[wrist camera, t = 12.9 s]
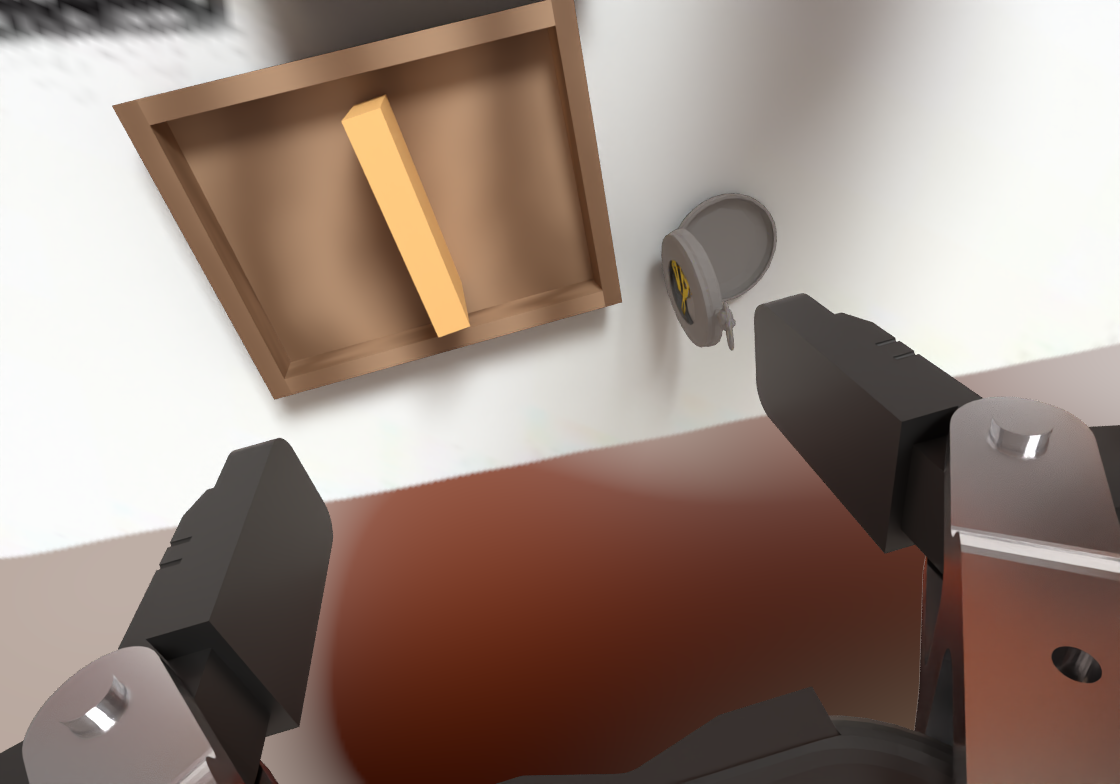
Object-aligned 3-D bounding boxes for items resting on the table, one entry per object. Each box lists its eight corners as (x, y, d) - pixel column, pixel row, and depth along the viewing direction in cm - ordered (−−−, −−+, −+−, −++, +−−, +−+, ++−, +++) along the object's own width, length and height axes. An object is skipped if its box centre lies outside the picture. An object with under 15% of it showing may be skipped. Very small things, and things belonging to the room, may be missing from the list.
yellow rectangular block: (380, 107, 24) (470, 326, 29) (385, 94, 29) (461, 282, 34) (341, 121, 24) (438, 337, 29) (353, 105, 29) (434, 292, 34)
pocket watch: (788, 237, 38) (894, 296, 30) (693, 336, 40) (767, 416, 32) (707, 148, 34) (803, 187, 26) (607, 263, 37) (666, 333, 28)
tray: (558, -4, 29) (572, -7, 27) (607, 283, 37) (622, 302, 35) (139, 98, 28) (112, 105, 25) (283, 373, 36) (274, 399, 33)
